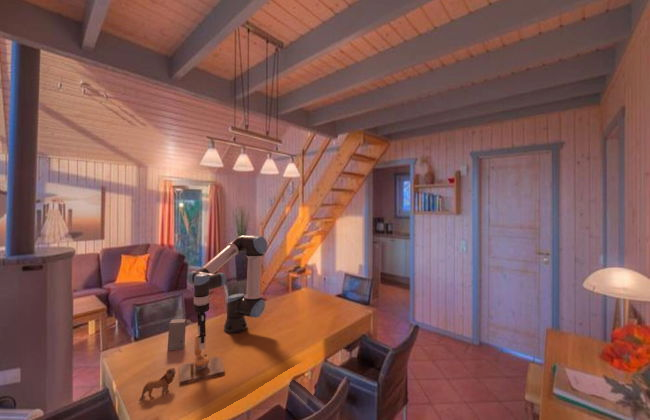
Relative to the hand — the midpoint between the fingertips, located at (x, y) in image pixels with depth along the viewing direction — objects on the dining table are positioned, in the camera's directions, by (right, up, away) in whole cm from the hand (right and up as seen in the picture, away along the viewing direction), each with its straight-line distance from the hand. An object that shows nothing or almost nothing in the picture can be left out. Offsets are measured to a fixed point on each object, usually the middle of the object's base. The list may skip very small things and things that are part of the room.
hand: (201, 343), depth 151 cm
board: (+3, -11, -7) cm, 13 cm away
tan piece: (+2, -6, -5) cm, 8 cm away
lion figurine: (-8, -11, -25) cm, 28 cm away
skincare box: (-22, -11, +17) cm, 29 cm away
